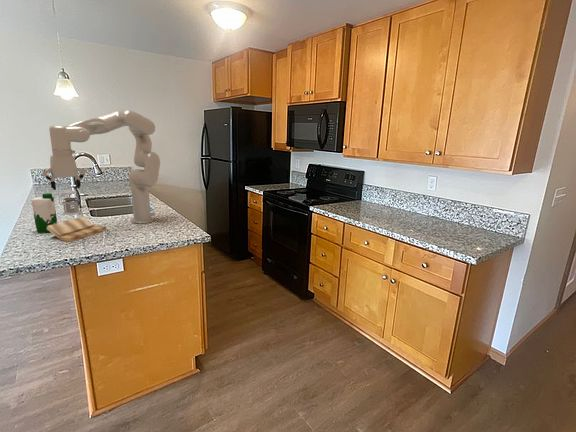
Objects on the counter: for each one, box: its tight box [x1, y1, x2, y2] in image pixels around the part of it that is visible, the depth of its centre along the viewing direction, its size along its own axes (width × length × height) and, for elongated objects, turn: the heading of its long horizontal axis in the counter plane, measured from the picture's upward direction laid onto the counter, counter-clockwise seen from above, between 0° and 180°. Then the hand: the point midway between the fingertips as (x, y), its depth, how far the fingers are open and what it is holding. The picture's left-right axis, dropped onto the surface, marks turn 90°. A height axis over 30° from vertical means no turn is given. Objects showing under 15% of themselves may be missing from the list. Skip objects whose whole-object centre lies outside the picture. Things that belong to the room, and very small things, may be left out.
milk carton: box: [31, 192, 58, 234], centre depth 167 cm, size 9×9×20 cm
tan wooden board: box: [47, 216, 96, 240], centre depth 166 cm, size 20×9×2 cm, turn 165°
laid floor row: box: [59, 225, 107, 243], centre depth 164 cm, size 22×6×2 cm, turn 165°
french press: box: [58, 177, 81, 216], centre depth 205 cm, size 10×12×25 cm
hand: (66, 188), depth 154 cm, fingers open, 9 cm apart
